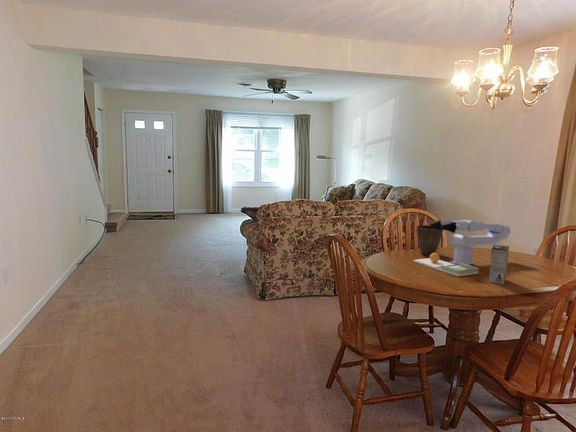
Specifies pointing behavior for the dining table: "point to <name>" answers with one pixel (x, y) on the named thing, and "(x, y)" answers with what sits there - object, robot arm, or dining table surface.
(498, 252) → the coffee box
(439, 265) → the board
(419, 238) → the plant pot
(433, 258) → the ball
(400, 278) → the dining table surface
